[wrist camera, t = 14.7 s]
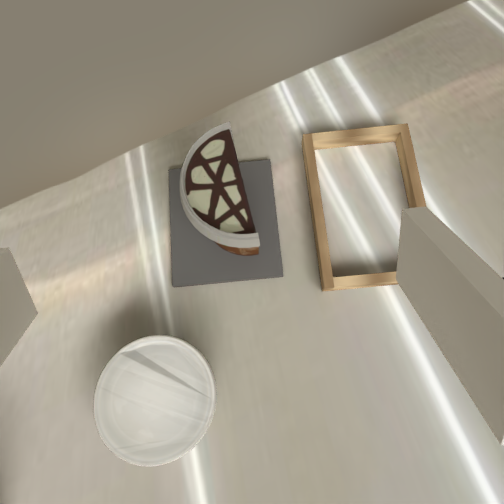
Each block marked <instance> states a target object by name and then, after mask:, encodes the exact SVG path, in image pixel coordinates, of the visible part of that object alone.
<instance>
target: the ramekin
mask: <svg viewBox="0 0 504 504" xmlns="http://www.w3.org/2000/svg"><path fill="white" fill-rule="evenodd" d="M216 401H217V387H216V381H215V377H214V374H213V371H212V369H211V366H210V364H209V363H208V361H207V360H206V358H205V357H204V355H203V354H202V353H201V352H200V351H199V350H198V349H197V348H196V347H194V346H193V345H191V344H190V343H188V342H187V341H185V340H183V339H180V338H177V337H174V336H169V335H150V336H146V337H142V338H139V339H137V340H134V341H132V342H130V343H128V344H127V345H125V346H124V347H123V348H121V349H120V350H119V351H118V352H117V353H115V355H114V356H113V357H112V358H111V359H110V360H109V361H108V363H107V364H106V366H105V367H104V369H103V371H102V372H101V374H100V377H99V379H98V382H97V385H96V388H95V393H94V401H93V414H94V420H95V424H96V427H97V430H98V433H99V435H100V437H101V439H102V441H103V442H104V444H105V445H106V446H107V447H108V448H109V449H110V451H111V452H112V453H114V454H115V455H116V456H118V457H119V458H121V459H122V460H124V461H126V462H128V463H131V464H134V465H138V466H159V465H164V464H167V463H170V462H172V461H175V460H177V459H179V458H180V457H182V456H184V455H185V454H186V453H188V452H189V451H190V450H192V449H193V448H194V447H195V446H196V445H197V444H198V442H199V441H200V440H201V439H202V437H203V436H204V435H205V433H206V431H207V430H208V428H209V426H210V424H211V421H212V419H213V416H214V412H215V408H216Z"/></svg>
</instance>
